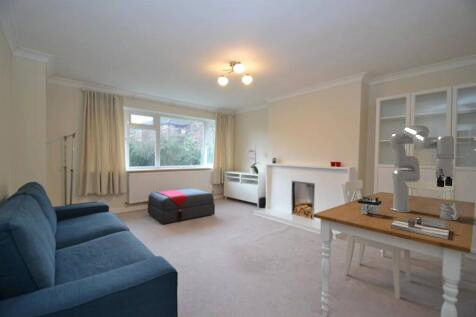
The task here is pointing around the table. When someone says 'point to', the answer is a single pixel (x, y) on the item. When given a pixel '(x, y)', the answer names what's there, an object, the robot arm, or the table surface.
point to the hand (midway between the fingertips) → (444, 186)
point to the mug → (449, 211)
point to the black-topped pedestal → (369, 205)
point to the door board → (420, 228)
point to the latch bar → (431, 222)
